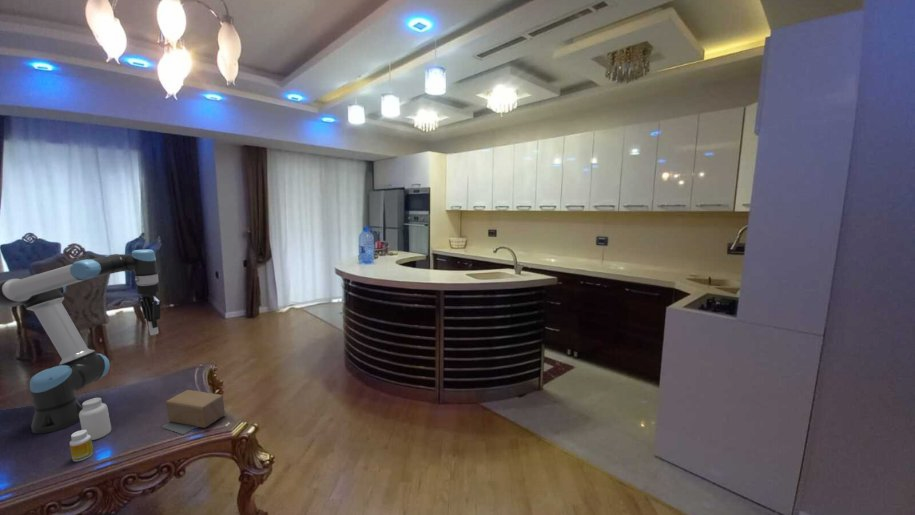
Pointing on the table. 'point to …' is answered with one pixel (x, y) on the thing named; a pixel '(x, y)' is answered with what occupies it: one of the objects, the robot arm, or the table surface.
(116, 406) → the table surface
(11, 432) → the table surface
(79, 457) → the supplement bottle
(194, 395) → the wooden block
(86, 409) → the pill bottle
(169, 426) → the mat
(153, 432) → the table surface
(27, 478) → the table surface
